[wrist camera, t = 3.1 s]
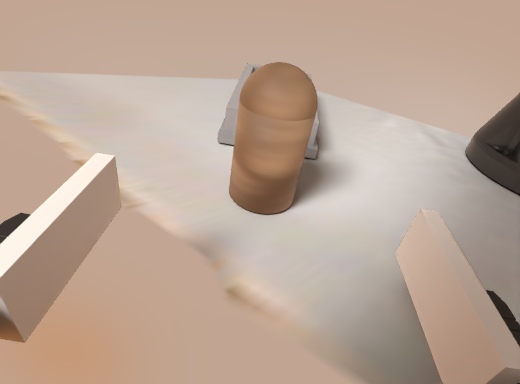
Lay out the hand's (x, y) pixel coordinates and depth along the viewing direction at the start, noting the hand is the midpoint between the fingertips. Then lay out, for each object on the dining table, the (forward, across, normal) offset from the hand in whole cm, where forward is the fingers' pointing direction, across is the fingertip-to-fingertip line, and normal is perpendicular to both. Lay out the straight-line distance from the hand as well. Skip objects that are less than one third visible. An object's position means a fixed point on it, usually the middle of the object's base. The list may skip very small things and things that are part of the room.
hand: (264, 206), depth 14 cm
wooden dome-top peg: (+10, 0, -6) cm, 12 cm away
